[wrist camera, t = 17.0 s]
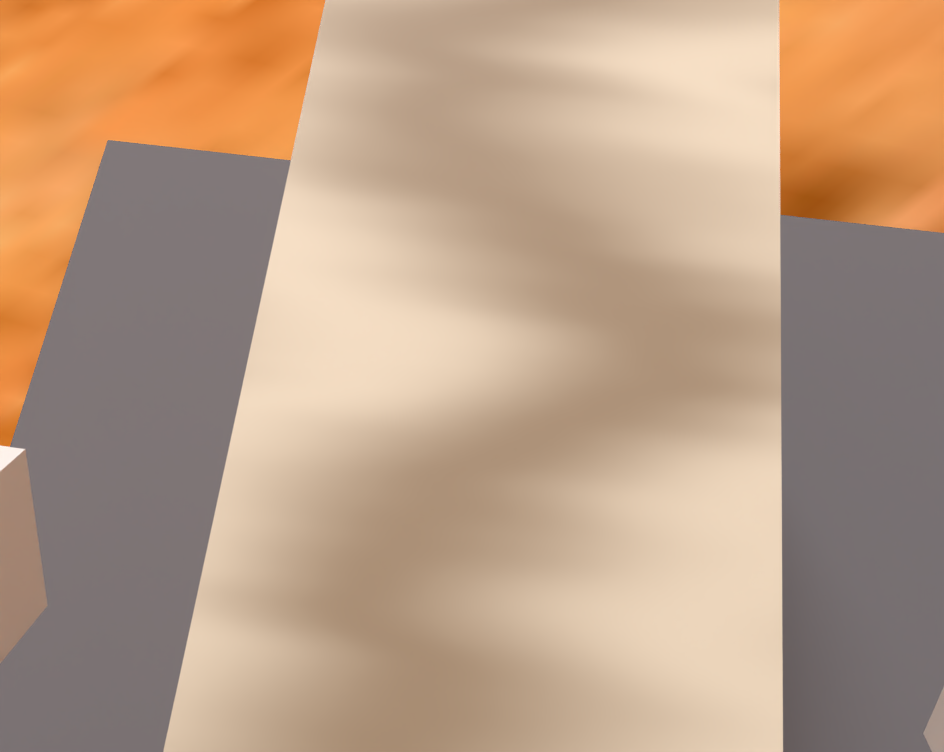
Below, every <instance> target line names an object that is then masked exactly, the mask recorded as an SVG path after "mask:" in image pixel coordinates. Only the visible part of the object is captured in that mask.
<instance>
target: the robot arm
mask: <svg viewBox="0 0 944 752" xmlns="http://www.w3.org/2000/svg"><path fill="white" fill-rule="evenodd" d="M47 606H48V605H47V598H46V591H45V584H44V577H43V570H42V563H41V556H40V549H39V542H38V535H37V528H36V521H35V514H34V507H33V500H32V492H31V485H30V478H29V471H28V464H27V457H26V450H25V449H21V448H13V447H6V446H0V663H1V662H2V661H3V659H4V658H5V657H6V656H7V655H8V653H9V652H10V651H11V650H12V648H13V647H14V646H15V645H16V644H17V642H18V641H19V640H20V639H21V637H22V636H23V635H24V634H25V633H26V631H27V630H28V629H29V628H30V626H31V625H32V624H33V623H34V622H35V620H36V619H37V618H38V617H39V615H40V614H41V613H42V612H43V611H44V609H45V608H46V607H47ZM923 734H924V736H925V738H926V740H927V742H928V745H929V747H930V749H931V751H932V752H944V687H943V690H942V692H941V694H940V696H939V699H938V701H937V703H936V705H935V708H934V710H933V712H932V715H931V717H930V719H929V721H928V724H927V726H926V728H925V730H924V733H923Z"/></svg>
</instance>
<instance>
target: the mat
mask: <svg viewBox="0 0 944 752" xmlns="http://www.w3.org/2000/svg"><path fill="white" fill-rule="evenodd" d="M290 162H291V160H282V159H273V158H264V157H255V156H246V155H237V154H228V153H219V152H210V151H201V150H192V149H183V148H174V147H165V146H156V145H147V144H138V143H129V142H120V141H111V140H108V141H107V145H106V148H105V151H104V154H103V157H102V160H101V163H100V167H99V170H98V173H97V176H96V179H95V182H94V185H93V188H92V192H91V195H90V198H89V201H88V204H87V207H86V210H85V214H84V217H83V220H82V223H81V226H80V229H79V232H78V235H77V239H76V242H75V245H74V248H73V251H72V254H71V257H70V261H69V264H68V267H67V270H66V273H65V276H64V279H63V283H62V286H61V289H60V292H59V295H58V298H57V301H56V304H55V308H54V311H53V314H52V317H51V320H50V323H49V326H48V330H47V333H46V336H45V339H44V342H43V345H42V348H41V351H40V355H39V358H38V361H37V364H36V367H35V370H34V373H33V377H32V380H31V383H30V386H29V389H28V392H27V395H26V399H25V402H24V405H23V408H22V411H21V414H20V417H19V420H18V424H17V427H16V430H15V433H14V436H13V439H12V442H11V446H10V447H13V448H21V449H25V450H26V457H27V464H28V471H29V478H30V485H31V492H32V500H33V507H34V514H35V521H36V528H37V535H38V542H39V549H40V556H41V563H42V570H43V577H44V584H45V591H46V598H47V605H48V606H47V607H46V608H45V609H44V611H43V612H42V613H41V614H40V615H39V617H38V618H37V619H36V620H35V622H34V623H33V624H32V625H31V626H30V628H29V629H28V630H27V631H26V633H25V634H24V635H23V636H22V637H21V639H20V640H19V641H18V642H17V644H16V645H15V646H14V647H13V648H12V650H11V651H10V652H9V653H8V655H7V656H6V657H5V658H4V659H3V661H2V662H1V663H0V752H163V751H164V746H165V741H166V737H167V732H168V727H169V723H170V718H171V713H172V709H173V704H174V700H175V695H176V690H177V686H178V681H179V676H180V672H181V667H182V663H183V658H184V653H185V649H186V644H187V639H188V635H189V630H190V625H191V621H192V616H193V612H194V607H195V602H196V598H197V593H198V588H199V584H200V579H201V574H202V570H203V565H204V561H205V556H206V551H207V547H208V542H209V537H210V533H211V528H212V524H213V519H214V514H215V510H216V505H217V500H218V496H219V491H220V486H221V482H222V477H223V473H224V468H225V463H226V459H227V454H228V449H229V445H230V440H231V436H232V431H233V426H234V422H235V417H236V412H237V408H238V403H239V398H240V394H241V389H242V385H243V380H244V375H245V371H246V366H247V361H248V357H249V352H250V348H251V343H252V338H253V334H254V329H255V324H256V320H257V315H258V310H259V306H260V301H261V297H262V292H263V287H264V283H265V278H266V273H267V269H268V264H269V260H270V255H271V250H272V246H273V241H274V236H275V232H276V227H277V222H278V218H279V213H280V209H281V204H282V199H283V195H284V190H285V185H286V181H287V176H288V172H289V167H290ZM780 268H781V461H782V653H783V752H932V751H931V749H930V747H929V745H928V742H927V740H926V738H925V736H924V734H923V733H924V730H925V728H926V726H927V724H928V721H929V719H930V717H931V715H932V712H933V710H934V708H935V705H936V703H937V701H938V699H939V696H940V694H941V692H942V690H943V687H944V233H938V232H929V231H920V230H911V229H902V228H893V227H884V226H875V225H866V224H857V223H848V222H839V221H830V220H821V219H812V218H803V217H794V216H785V215H780Z"/></svg>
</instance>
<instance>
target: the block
mask: <svg viewBox="0 0 944 752" xmlns="http://www.w3.org/2000/svg"><path fill="white" fill-rule="evenodd" d="M163 752H783V653H782V461H781V268H780V75H779V0H325V5H324V9H323V14H322V19H321V23H320V28H319V33H318V37H317V42H316V46H315V51H314V56H313V60H312V65H311V70H310V74H309V79H308V83H307V88H306V93H305V97H304V102H303V107H302V111H301V116H300V121H299V125H298V130H297V134H296V139H295V144H294V148H293V153H292V158H291V162H290V167H289V172H288V176H287V181H286V185H285V190H284V195H283V199H282V204H281V209H280V213H279V218H278V222H277V227H276V232H275V236H274V241H273V246H272V250H271V255H270V260H269V264H268V269H267V273H266V278H265V283H264V287H263V292H262V297H261V301H260V306H259V310H258V315H257V320H256V324H255V329H254V334H253V338H252V343H251V348H250V352H249V357H248V361H247V366H246V371H245V375H244V380H243V385H242V389H241V394H240V398H239V403H238V408H237V412H236V417H235V422H234V426H233V431H232V436H231V440H230V445H229V449H228V454H227V459H226V463H225V468H224V473H223V477H222V482H221V486H220V491H219V496H218V500H217V505H216V510H215V514H214V519H213V524H212V528H211V533H210V537H209V542H208V547H207V551H206V556H205V561H204V565H203V570H202V574H201V579H200V584H199V588H198V593H197V598H196V602H195V607H194V612H193V616H192V621H191V625H190V630H189V635H188V639H187V644H186V649H185V653H184V658H183V663H182V667H181V672H180V676H179V681H178V686H177V690H176V695H175V700H174V704H173V709H172V713H171V718H170V723H169V727H168V732H167V737H166V741H165V746H164V751H163Z"/></svg>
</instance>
